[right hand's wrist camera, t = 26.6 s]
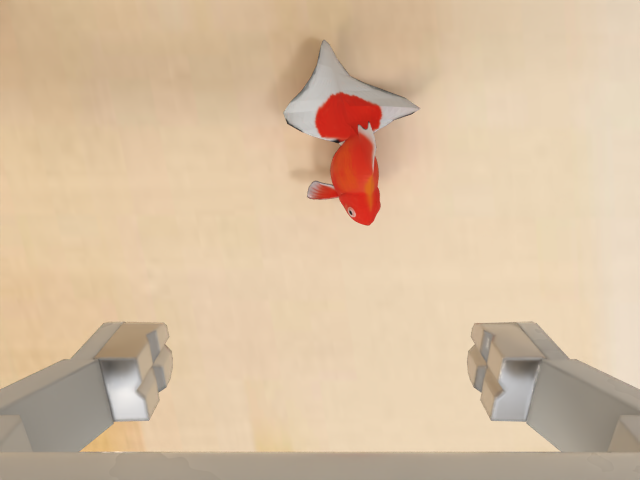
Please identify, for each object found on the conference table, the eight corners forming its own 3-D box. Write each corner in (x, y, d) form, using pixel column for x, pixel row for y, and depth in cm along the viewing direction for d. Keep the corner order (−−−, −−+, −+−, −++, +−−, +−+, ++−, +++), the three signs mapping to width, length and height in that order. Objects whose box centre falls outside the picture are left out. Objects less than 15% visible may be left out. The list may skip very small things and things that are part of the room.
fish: (265, 224, 37) (299, 210, 28) (272, 63, 38) (307, -2, 29) (367, 231, 41) (427, 221, 32) (371, 85, 42) (429, 34, 33)
